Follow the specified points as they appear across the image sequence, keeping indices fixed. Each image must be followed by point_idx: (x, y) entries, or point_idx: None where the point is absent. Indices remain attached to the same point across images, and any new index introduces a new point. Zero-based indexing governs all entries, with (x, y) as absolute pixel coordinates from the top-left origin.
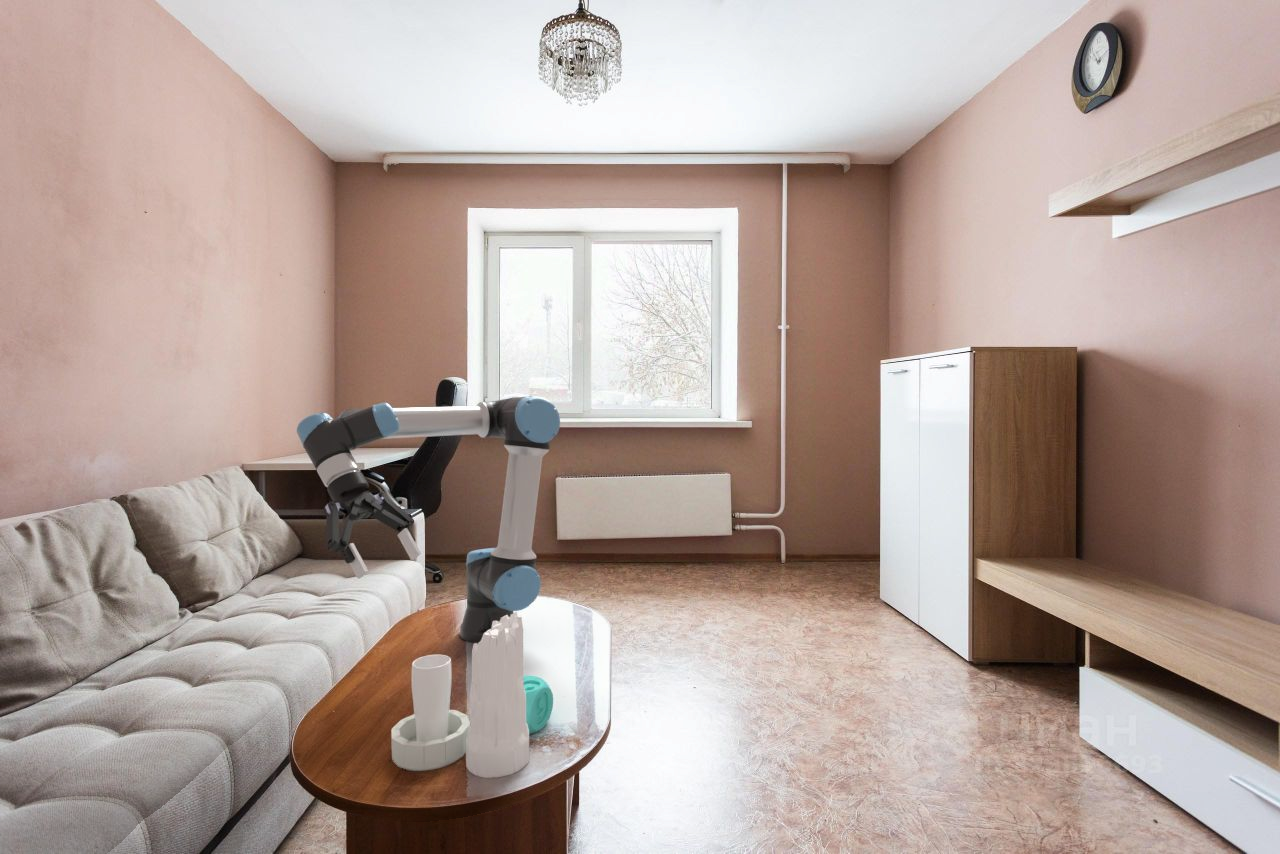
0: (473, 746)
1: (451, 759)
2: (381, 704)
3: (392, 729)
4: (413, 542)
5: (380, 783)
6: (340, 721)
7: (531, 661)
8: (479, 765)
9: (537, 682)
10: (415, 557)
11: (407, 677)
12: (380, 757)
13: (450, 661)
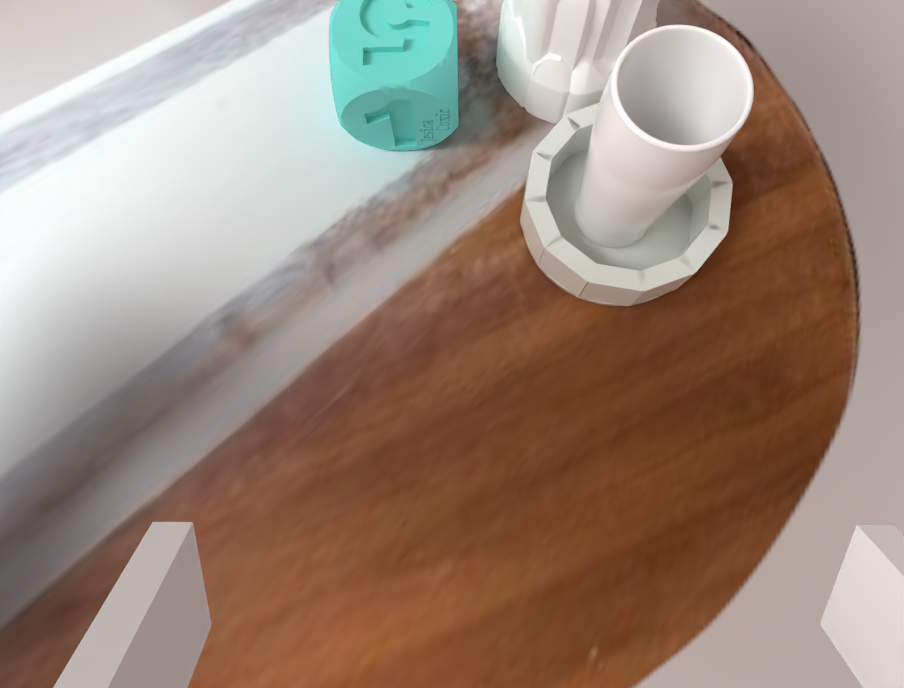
0: (654, 28)
1: None
2: (490, 547)
3: (694, 269)
4: (100, 653)
5: (770, 217)
6: (628, 569)
7: (23, 331)
8: None
9: (360, 11)
10: (197, 575)
11: (296, 638)
12: (698, 303)
13: (643, 33)
